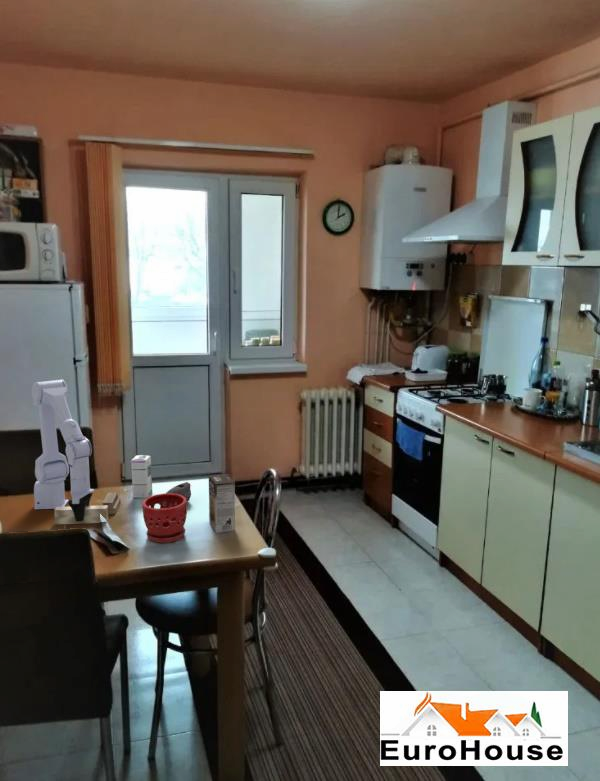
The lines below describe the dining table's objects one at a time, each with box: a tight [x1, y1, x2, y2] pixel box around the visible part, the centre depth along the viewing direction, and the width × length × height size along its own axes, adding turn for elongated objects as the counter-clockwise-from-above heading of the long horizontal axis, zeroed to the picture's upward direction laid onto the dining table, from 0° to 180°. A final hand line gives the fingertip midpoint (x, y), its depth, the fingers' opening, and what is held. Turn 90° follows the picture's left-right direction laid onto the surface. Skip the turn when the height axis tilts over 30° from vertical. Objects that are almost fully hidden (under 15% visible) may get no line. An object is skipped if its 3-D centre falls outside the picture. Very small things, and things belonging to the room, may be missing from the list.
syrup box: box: [130, 454, 153, 499], centre depth 223 cm, size 6×6×14 cm
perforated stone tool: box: [162, 481, 192, 506], centre depth 213 cm, size 15×5×7 cm, turn 149°
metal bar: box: [53, 504, 109, 525], centre depth 198 cm, size 16×3×5 cm, turn 97°
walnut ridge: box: [101, 492, 122, 515], centre depth 210 cm, size 5×10×4 cm, turn 7°
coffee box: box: [208, 473, 236, 534], centre depth 195 cm, size 9×6×16 cm
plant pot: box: [141, 492, 188, 544], centre depth 186 cm, size 13×13×12 cm
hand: (81, 517), depth 198 cm, fingers open, 5 cm apart
